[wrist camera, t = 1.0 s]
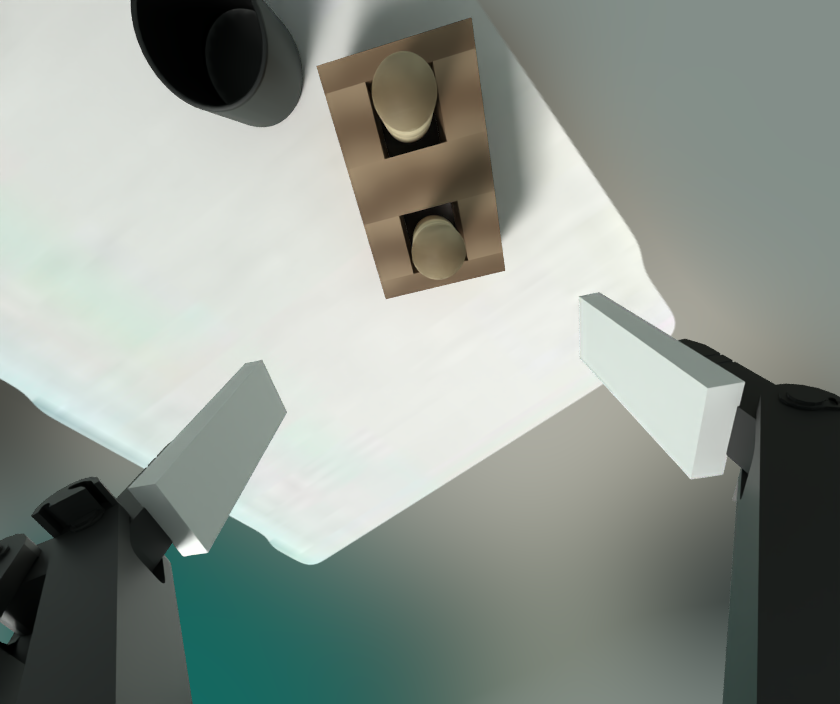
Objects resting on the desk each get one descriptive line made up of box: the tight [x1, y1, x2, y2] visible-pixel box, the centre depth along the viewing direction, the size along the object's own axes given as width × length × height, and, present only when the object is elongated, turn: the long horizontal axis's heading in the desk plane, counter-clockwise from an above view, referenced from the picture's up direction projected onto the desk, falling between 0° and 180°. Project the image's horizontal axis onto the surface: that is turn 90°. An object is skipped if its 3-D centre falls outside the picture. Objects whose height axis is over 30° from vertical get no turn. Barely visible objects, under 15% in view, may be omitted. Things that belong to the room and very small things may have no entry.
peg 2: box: [412, 215, 466, 280], centre depth 29 cm, size 4×4×8 cm
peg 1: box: [372, 51, 437, 143], centre depth 25 cm, size 4×4×8 cm
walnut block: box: [317, 18, 505, 299], centre depth 33 cm, size 19×12×8 cm, turn 14°
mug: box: [131, 0, 302, 127], centre depth 28 cm, size 9×12×9 cm
